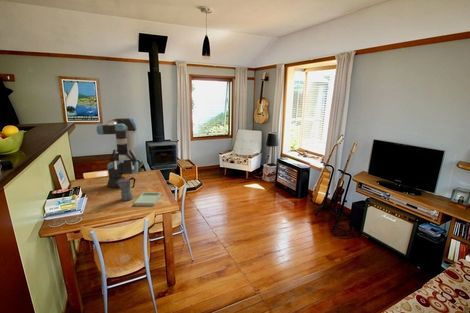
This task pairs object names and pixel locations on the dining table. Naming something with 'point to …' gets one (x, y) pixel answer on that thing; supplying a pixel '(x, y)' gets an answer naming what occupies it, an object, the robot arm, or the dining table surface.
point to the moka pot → (125, 188)
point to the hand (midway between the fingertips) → (124, 169)
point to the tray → (147, 199)
